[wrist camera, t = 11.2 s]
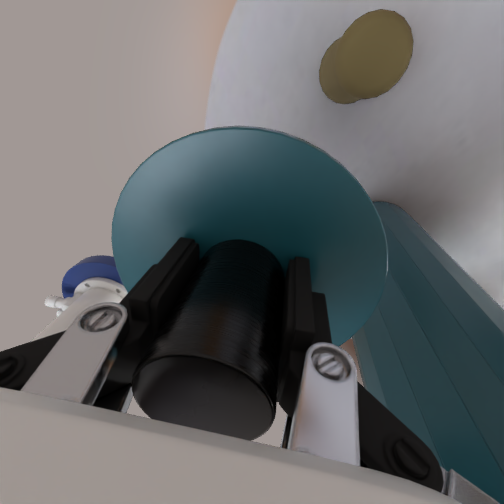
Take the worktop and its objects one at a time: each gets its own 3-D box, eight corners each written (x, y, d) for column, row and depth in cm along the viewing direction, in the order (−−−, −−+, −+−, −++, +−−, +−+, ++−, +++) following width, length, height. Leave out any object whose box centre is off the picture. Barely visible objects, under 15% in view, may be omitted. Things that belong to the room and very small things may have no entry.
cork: (373, 104, 28) (412, 105, 19) (315, 104, 29) (325, 105, 20) (387, 31, 26) (442, -10, 16) (322, 34, 26) (338, -5, 17)
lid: (139, 327, 16) (46, 462, 10) (107, 104, 10) (-165, 110, 4) (337, 366, 15) (364, 538, 9) (429, 148, 9) (669, 233, 3)
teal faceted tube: (322, 265, 39) (384, 647, 12) (342, 194, 34) (542, 594, 6) (395, 277, 38) (643, 714, 11) (427, 207, 33) (1064, 718, 6)
